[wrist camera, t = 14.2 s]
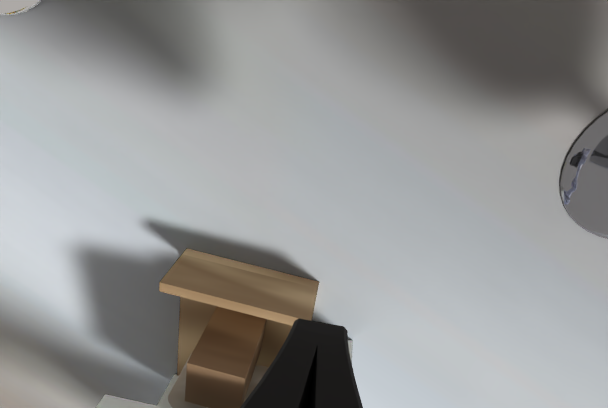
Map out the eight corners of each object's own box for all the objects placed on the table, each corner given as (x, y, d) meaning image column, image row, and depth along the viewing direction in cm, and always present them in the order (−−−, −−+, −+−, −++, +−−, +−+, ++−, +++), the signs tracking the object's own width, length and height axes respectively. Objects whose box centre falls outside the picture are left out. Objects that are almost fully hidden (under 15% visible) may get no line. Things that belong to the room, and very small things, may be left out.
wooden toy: (290, 392, 27) (272, 477, 22) (183, 363, 27) (141, 440, 22) (319, 277, 22) (305, 352, 17) (189, 245, 22) (137, 308, 17)
